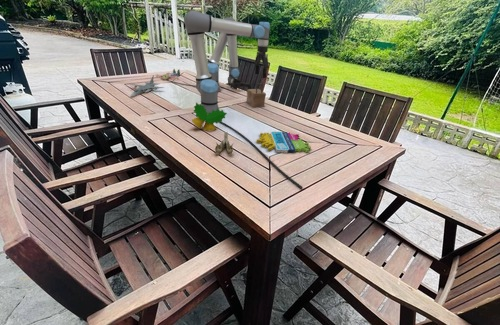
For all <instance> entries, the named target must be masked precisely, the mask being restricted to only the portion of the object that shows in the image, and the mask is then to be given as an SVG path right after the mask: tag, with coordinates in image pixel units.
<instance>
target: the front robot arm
mask: <svg viewBox="0 0 500 325" xmlns="http://www.w3.org/2000/svg"><path fill="white" fill-rule="evenodd" d="M183 22H184V23H183V24H184V26H185V29H186V35H187V36H188V37H189V38H190V39H189V40H190V44H191V49H192V56H193V60H194V66H195V71H196V76H195V86H196V90H197V91H198V93H199V94H200V104H201V106H204V109H206V112H208V113H211V112H212V110H214V111H216V110H217V109H219V111H221V110H220V108H219V102H218V99H219V98H218V97H219V92H218V84H217V82H216V81H214V80H212V75H211V74H209V69H208V63H207V62H208V58H207V51H206V45H205V39H204V36H205V34H206V33H210V34H211V33H212V32H216V33H220V32H221V33H227V34H234V35H237V36H241V37H248V38H253V39H257V49H256V50H257V52H256V55H255V59H254V65H255V69H254V74H255V75H259V74H260V63H261V62H262V66H263V68H262V76H261V78H262V79H266V78H267V74H268V73H267V70H268V69H270V68H269V67H270V66H269V59H268V57H269V54H268V52H269V50H268V49H269V47H268V46H269V42H270V40H269V38H270V30H271V29H270V28H271V26H270V25H271V24H270V22H268V21H259V23H258V24H252V23H246V22H243V21H242V22H241V21H236V20H235V21H230V20H224V18H218V17H213V15H212V14H206V13H204V12H201V11H199V10H188V11H187V12H186V13H185V15H184V16H183ZM208 113H207V115H208ZM218 123H220V124H222V125H223V126H225V127H227V128H229V129H230V130H232V131H234V132H235V133H237V134H238V135H240V136H241V138H243V139H245V140H246V142H248V143H249V144H250V145H252V147H254V149H256V151H258V152H259V154H260V155H262V156H263V157H264V158H265V159H266V161H268V162H269V163H270V164H271V165H272V166H273V168H275V169H276V170H277V171H278V172H280V174H282V176H284V177H285V178H287V179H288V180H289V181H290V182H292V183H293V184H294V185H296V186H297V187H298V188H299V189H300V190H301V189H303V186H302V185H301V184H299V183H298V182H297V181H295V180H294V179H293V178H291V177H290V176H289V175H288V174H286V172H284V171H283V170H282V169H280V167H279V166H277V165H276V164H275V163H274V162H273V161H272V160H271V159H270V158H269V157H267V155H266V154H265V153H264V152H263V151H262V150H261V149H260V148H259V147H258V146H257V145H256V144H254V143H253V141H251V140H250V139H248V138H247V136H245V135H244V134H243V133H241V132H239V131H238V130H237V129H235V128H233V127H232V126H230V125H229V124H227V123H225V122H223V121H222V122H221V121H219V122H218Z"/></svg>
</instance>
